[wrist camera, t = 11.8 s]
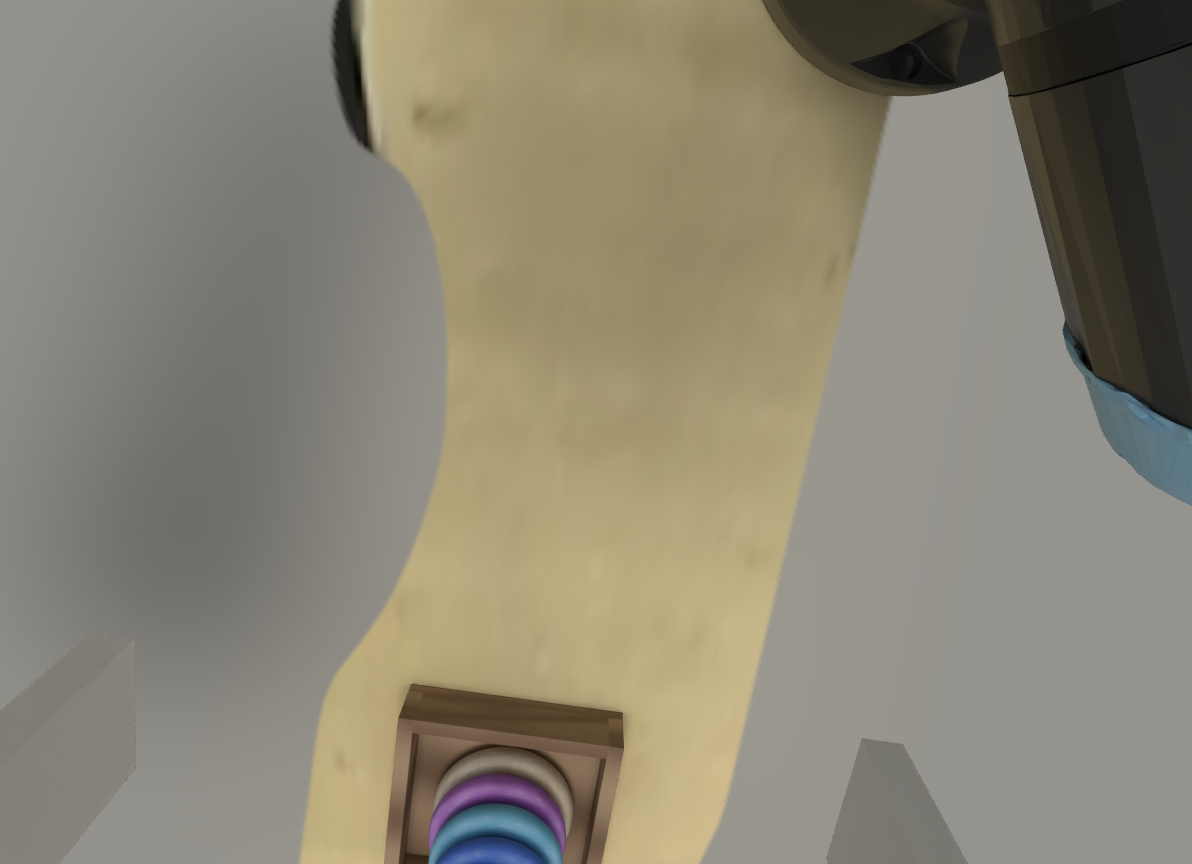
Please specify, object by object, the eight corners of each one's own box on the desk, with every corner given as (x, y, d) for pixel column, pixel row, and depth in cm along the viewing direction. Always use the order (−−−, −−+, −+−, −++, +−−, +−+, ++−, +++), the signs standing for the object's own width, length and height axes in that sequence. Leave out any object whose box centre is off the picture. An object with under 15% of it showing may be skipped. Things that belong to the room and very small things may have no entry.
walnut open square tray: (411, 684, 45) (398, 718, 42) (622, 713, 45) (623, 748, 43) (393, 854, 48) (381, 895, 46) (590, 879, 49) (589, 922, 46)
